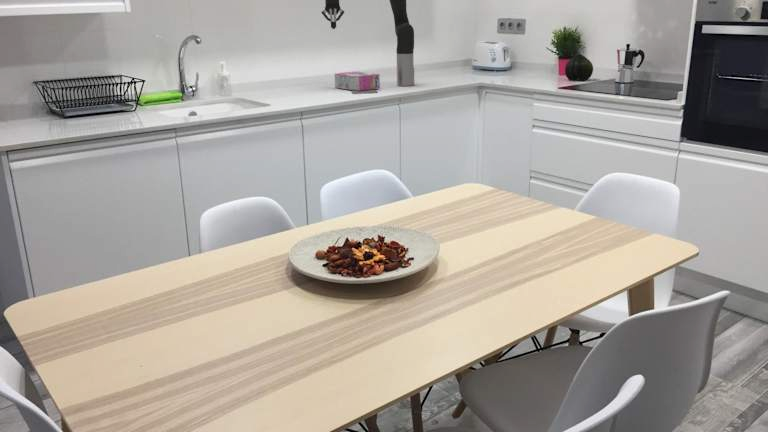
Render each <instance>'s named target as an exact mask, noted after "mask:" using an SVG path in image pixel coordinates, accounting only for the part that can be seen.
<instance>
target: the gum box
mask: <svg viewBox="0 0 768 432" xmlns="http://www.w3.org/2000/svg"><path fill="white" fill-rule="evenodd" d="M380 78H381V77H380V74H379V73H369V72H362V71H348V72H338V73H334V88H336V89H343V90H349V91H351V90H355V91H364V90H372V89H376V90H378V89H380V88H381V87H380V86H381V85H380V84H381V79H380Z"/></svg>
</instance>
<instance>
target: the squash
mask: <svg viewBox="0 0 768 432" xmlns="http://www.w3.org/2000/svg"><path fill="white" fill-rule="evenodd" d="M593 71H594V65H593V63H592V61H591V60H590V59H588V58H587V57H586V56H585V55H583V54H581V53H577V54H575V55H574V56H572V57H570V59H569V60H568V61H567V62H566V64H565V67H564V73H565V74H564V75H565V76H566V78H567V79H568V80H569V81H576V80H579V81H581V82H584V81H586V80H589V79H590V78H591V77H592V75H593Z"/></svg>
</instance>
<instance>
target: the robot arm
mask: <svg viewBox="0 0 768 432" xmlns="http://www.w3.org/2000/svg"><path fill="white" fill-rule="evenodd" d="M324 2H325V6H324V9H323V10H322V11H321V14H322V16H323V17H324V18H325V20H327V21H328V22H330V28H332V30H335V29H336V28H337V22H338V21H340V19H341V18H342V16H343V15H344V13H345V10H343V9H342V8H341V6H340V5H341V4H340V0H325V1H324ZM389 3H390V7H391V12H392V15H393V21H394V28H395V29H394V30H395V35H396V38H397V39H396V85H397V86H399V87H400V86H401V87H410V86H415V66H414V63H415V62H414V61H415V59H414V49H415V30H414V27H413V26H412V24H410V20H409V18H408V12H407V0H389ZM327 14H328V15H327ZM338 14H339V15H338ZM337 15H338V17H337ZM328 16H329V17H328Z"/></svg>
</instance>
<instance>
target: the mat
mask: <svg viewBox="0 0 768 432" xmlns="http://www.w3.org/2000/svg"><path fill="white" fill-rule="evenodd" d="M350 92H351V94H352V95H354V94H355V95H359V94H362V93H363V94H378V91H377V89H372V90H364V91H355V90H350ZM363 94H362V95H363Z"/></svg>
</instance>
